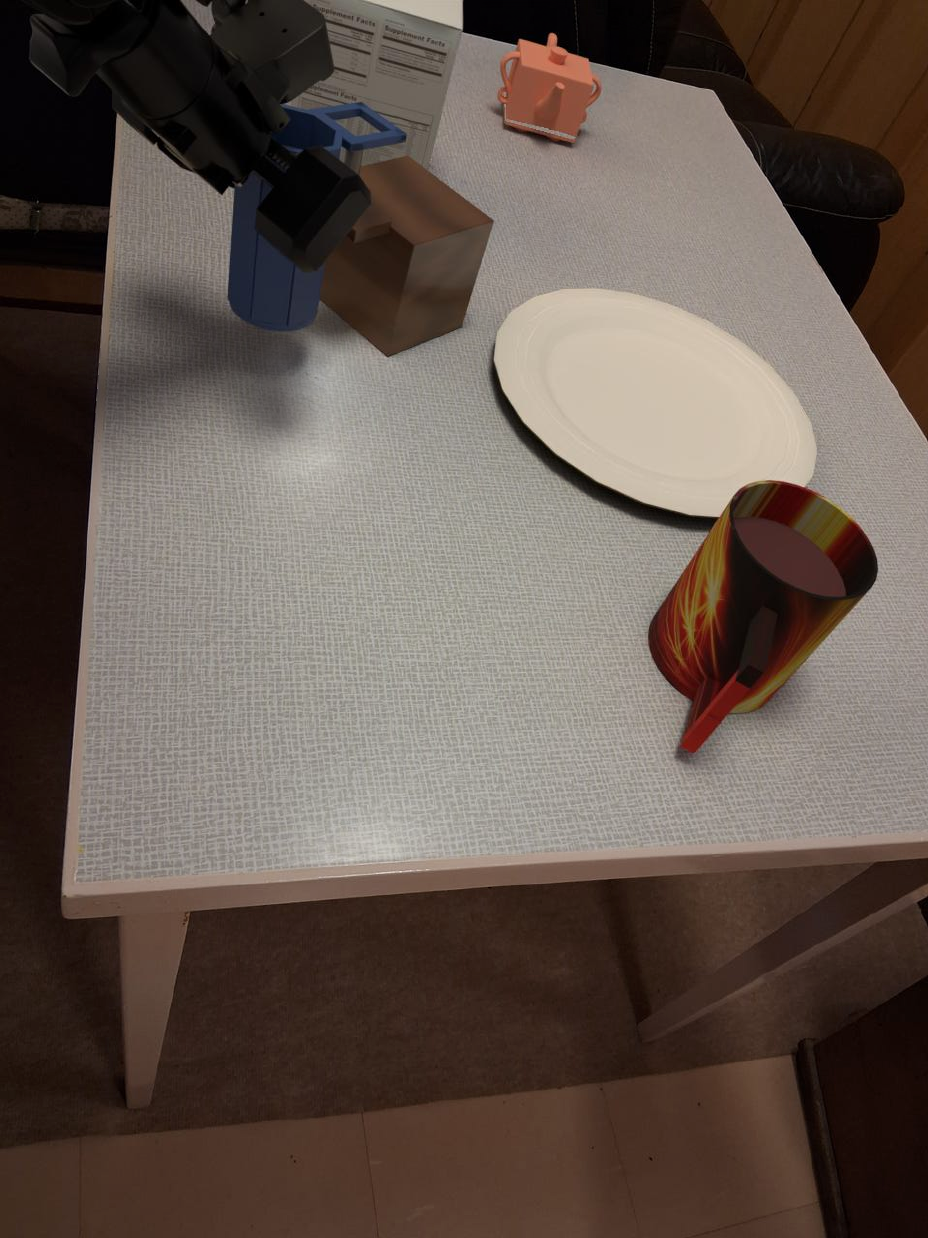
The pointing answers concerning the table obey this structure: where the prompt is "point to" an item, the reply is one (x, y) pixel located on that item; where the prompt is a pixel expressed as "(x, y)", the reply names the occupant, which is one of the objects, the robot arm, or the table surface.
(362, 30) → the supplement box
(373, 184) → the hook box
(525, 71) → the teapot
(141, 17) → the robot arm
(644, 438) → the plate
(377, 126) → the measuring cup
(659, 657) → the mug
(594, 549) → the table surface
